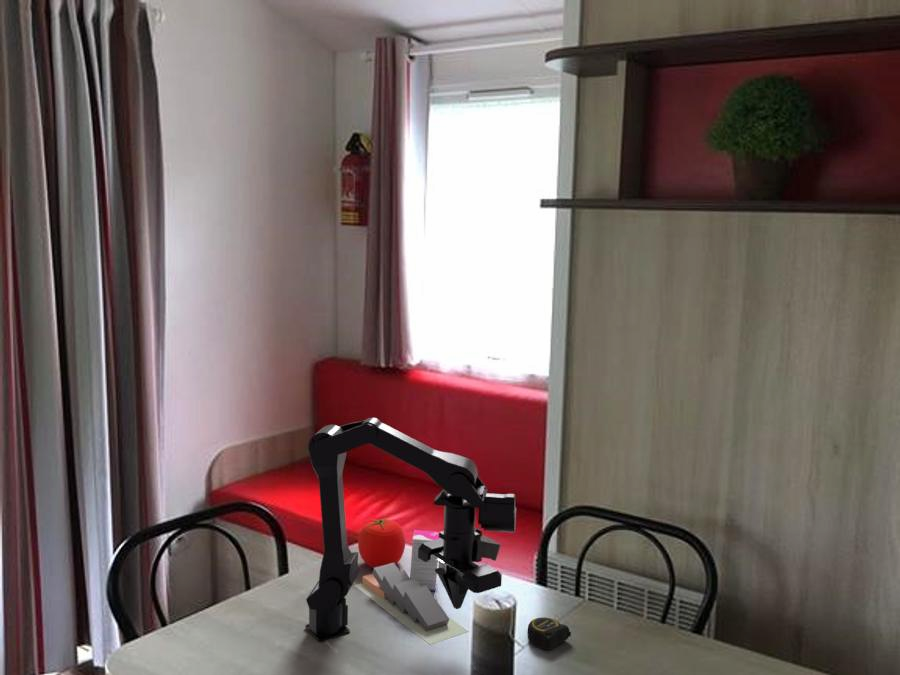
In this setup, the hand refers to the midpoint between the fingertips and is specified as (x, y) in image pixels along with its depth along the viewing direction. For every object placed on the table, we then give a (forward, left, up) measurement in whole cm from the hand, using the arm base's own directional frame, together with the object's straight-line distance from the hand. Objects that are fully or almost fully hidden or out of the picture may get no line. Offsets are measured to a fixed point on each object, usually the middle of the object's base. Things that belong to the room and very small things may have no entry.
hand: (457, 607), depth 149 cm
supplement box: (+8, +23, -7) cm, 25 cm away
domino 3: (0, +14, -6) cm, 15 cm away
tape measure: (+15, -9, -7) cm, 19 cm away
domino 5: (0, +6, -6) cm, 8 cm away
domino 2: (0, +18, -6) cm, 19 cm away
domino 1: (0, +22, -6) cm, 23 cm away
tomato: (+6, +37, -7) cm, 38 cm away
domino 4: (0, +10, -6) cm, 12 cm away
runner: (0, +16, -7) cm, 18 cm away
